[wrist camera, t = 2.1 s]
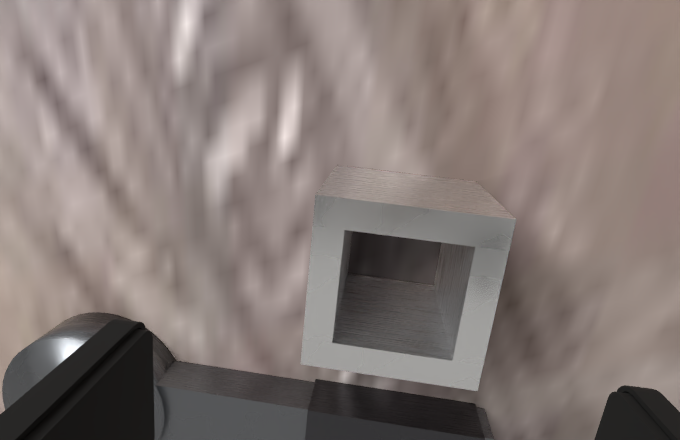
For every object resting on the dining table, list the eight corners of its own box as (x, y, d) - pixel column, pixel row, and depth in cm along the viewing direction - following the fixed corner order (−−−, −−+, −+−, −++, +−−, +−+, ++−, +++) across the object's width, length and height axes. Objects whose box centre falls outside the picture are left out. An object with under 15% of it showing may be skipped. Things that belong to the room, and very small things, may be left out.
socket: (476, 181, 19) (516, 219, 13) (451, 307, 20) (477, 391, 14) (337, 164, 19) (315, 194, 13) (324, 289, 21) (300, 364, 15)
